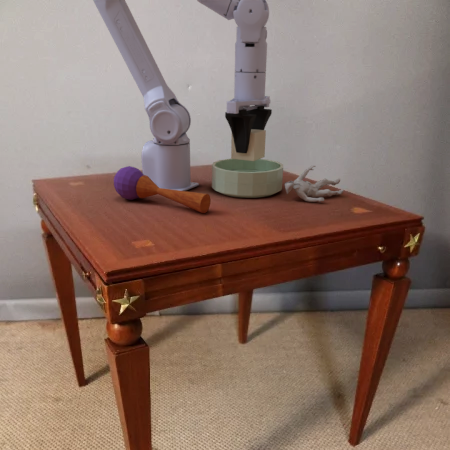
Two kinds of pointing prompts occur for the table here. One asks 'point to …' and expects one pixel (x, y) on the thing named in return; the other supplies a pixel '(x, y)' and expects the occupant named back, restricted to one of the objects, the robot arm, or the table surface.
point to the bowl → (247, 177)
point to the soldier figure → (311, 188)
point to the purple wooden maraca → (155, 190)
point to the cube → (251, 147)
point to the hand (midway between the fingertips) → (247, 150)
